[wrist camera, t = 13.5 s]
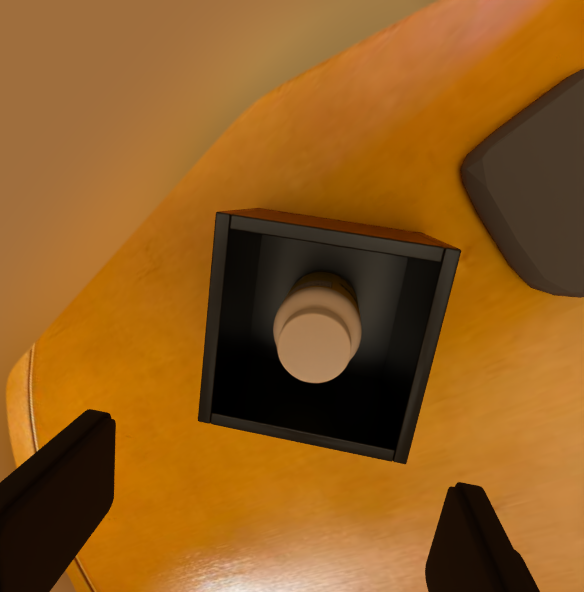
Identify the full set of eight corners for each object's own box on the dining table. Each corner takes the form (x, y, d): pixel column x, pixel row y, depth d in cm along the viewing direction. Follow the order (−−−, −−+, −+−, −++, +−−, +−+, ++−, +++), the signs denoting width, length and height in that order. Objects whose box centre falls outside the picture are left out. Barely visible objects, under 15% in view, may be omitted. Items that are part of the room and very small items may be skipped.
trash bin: (239, 357, 33) (197, 421, 23) (256, 207, 30) (215, 211, 20) (388, 385, 32) (406, 465, 22) (423, 233, 28) (462, 249, 19)
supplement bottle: (362, 331, 30) (370, 392, 21) (294, 339, 31) (272, 400, 21) (353, 263, 29) (357, 294, 19) (282, 273, 30) (253, 308, 20)
